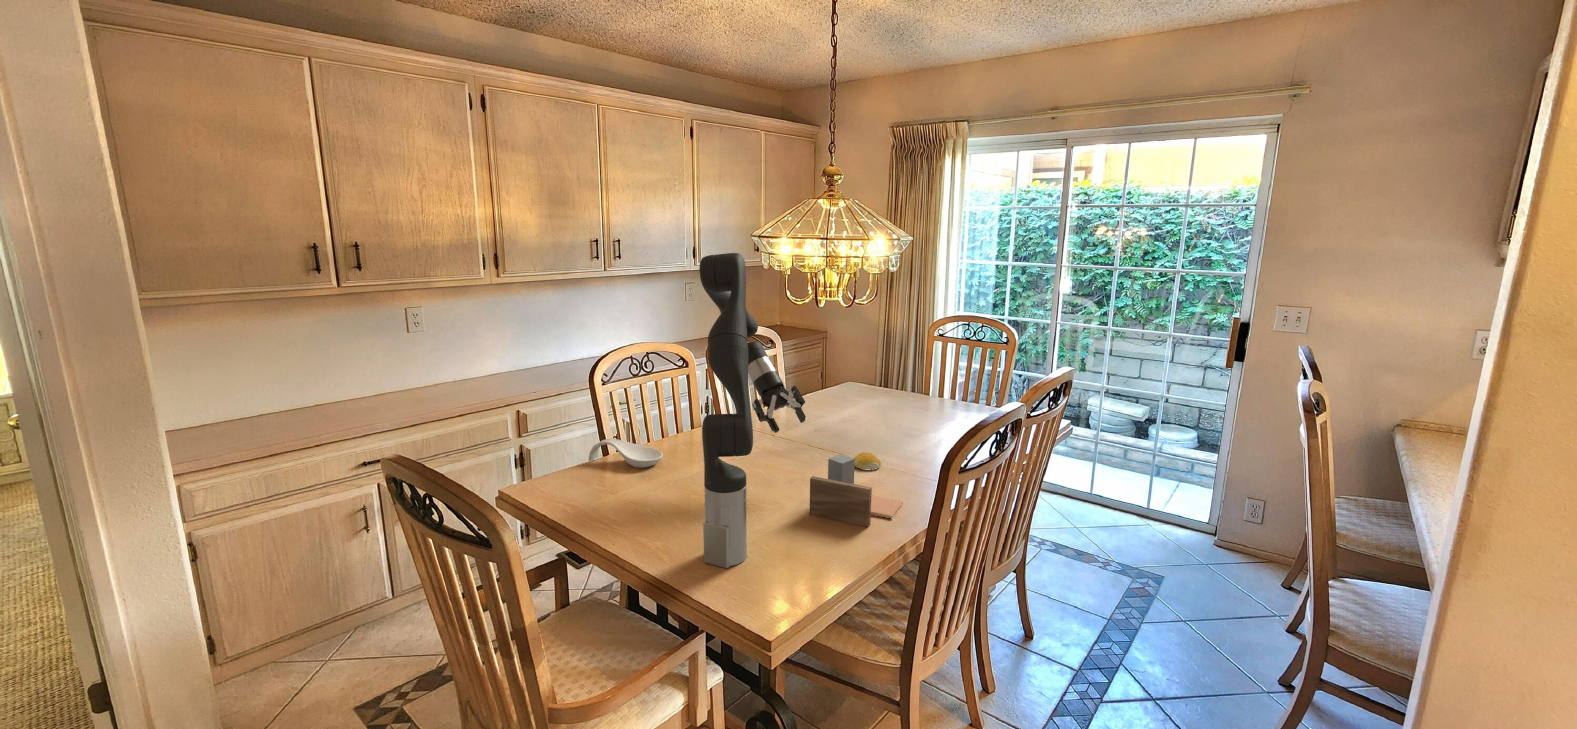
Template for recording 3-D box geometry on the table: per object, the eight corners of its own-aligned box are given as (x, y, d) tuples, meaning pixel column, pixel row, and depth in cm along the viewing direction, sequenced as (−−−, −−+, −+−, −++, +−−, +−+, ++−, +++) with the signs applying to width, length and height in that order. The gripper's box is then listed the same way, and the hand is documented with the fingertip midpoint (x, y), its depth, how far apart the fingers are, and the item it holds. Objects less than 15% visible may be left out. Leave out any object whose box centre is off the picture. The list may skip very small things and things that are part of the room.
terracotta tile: (891, 519, 164) (892, 515, 164) (854, 511, 168) (854, 508, 168) (902, 504, 173) (902, 501, 172) (867, 497, 177) (867, 494, 177)
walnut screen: (868, 527, 160) (869, 489, 157) (809, 514, 166) (810, 478, 164) (870, 524, 161) (871, 487, 159) (811, 512, 168) (812, 476, 166)
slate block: (853, 500, 175) (855, 459, 172) (841, 506, 171) (843, 463, 169) (839, 495, 178) (840, 454, 176) (827, 500, 175) (828, 458, 172)
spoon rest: (668, 460, 204) (668, 438, 203) (653, 473, 193) (652, 451, 192) (600, 454, 209) (599, 433, 208) (581, 467, 198) (580, 444, 196)
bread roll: (873, 460, 206) (873, 448, 205) (883, 470, 197) (884, 458, 197) (848, 462, 204) (849, 450, 203) (858, 472, 196) (858, 460, 195)
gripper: (746, 378, 175) (772, 429, 170) (789, 363, 182) (816, 412, 177) (739, 389, 181) (764, 440, 176) (781, 375, 188) (807, 423, 183)
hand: (790, 426), depth 177 cm, fingers open, 8 cm apart
